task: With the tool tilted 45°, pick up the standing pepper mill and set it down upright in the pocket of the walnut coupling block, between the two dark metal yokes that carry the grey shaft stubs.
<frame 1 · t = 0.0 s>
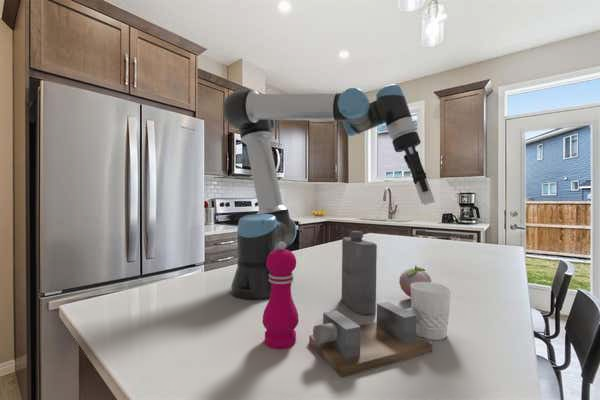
hand: (427, 203, 85), 28 cm above the countertop, tool tilted 20°, fingers open, 13 cm apart
flask: (356, 305, 79), on the countertop
decorative fruit: (414, 300, 84), on the countertop
pepper mill: (280, 341, 59), on the countertop
coupling block: (369, 347, 56), on the countertop
white cup: (429, 333, 63), on the countertop
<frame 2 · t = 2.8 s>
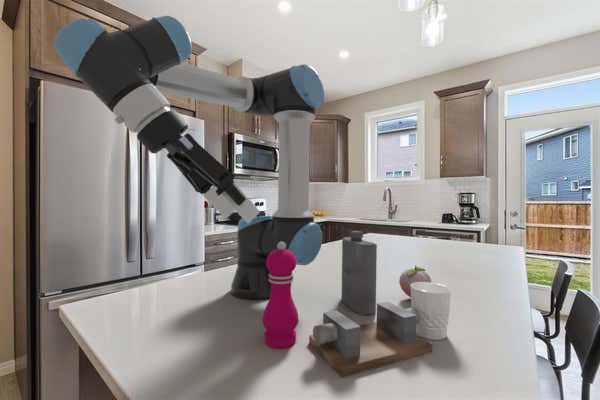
hand: (240, 215, 54), 25 cm above the countertop, tool tilted 45°, fingers open, 13 cm apart
nothing on the countertop moved.
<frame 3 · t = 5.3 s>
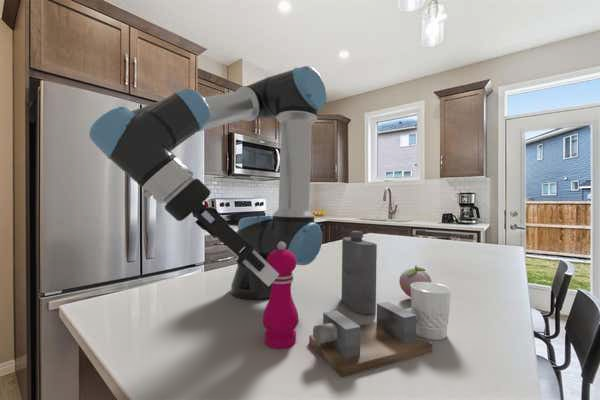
hand: (262, 270, 56), 15 cm above the countertop, tool tilted 45°, fingers open, 13 cm apart
nothing on the countertop moved.
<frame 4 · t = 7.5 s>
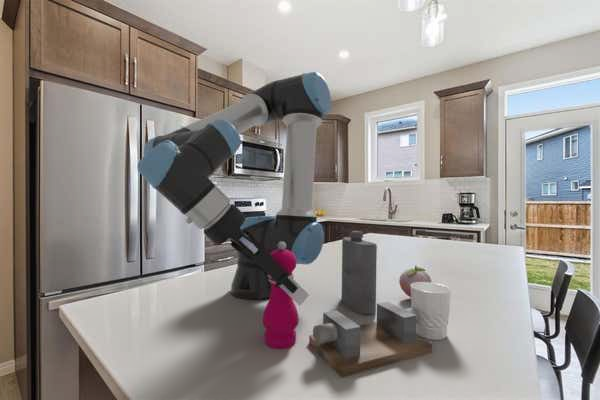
hand: (297, 294, 60), 9 cm above the countertop, tool tilted 45°, fingers closed on pepper mill, 5 cm apart
pepper mill: (280, 341, 59), on the countertop, touching gripper
everything else where it was.
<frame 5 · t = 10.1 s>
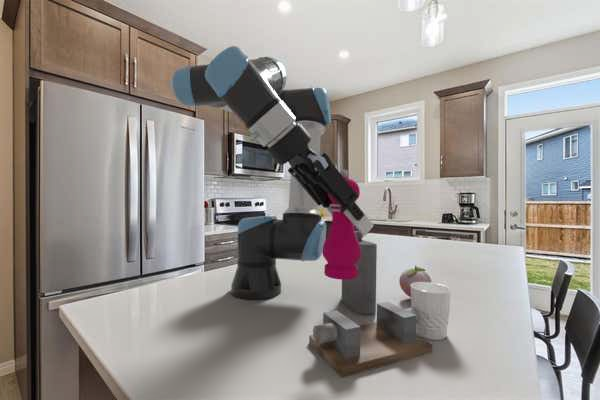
hand: (359, 228, 57), 23 cm above the countertop, tool tilted 45°, fingers closed on pepper mill, 5 cm apart
pepper mill: (340, 276, 55), point 14 cm above the countertop, touching gripper
everything else where it was.
when the fingers open (11 cm above the countertop, at t = 13.1 s): pepper mill moves 3 cm, resting on coupling block.
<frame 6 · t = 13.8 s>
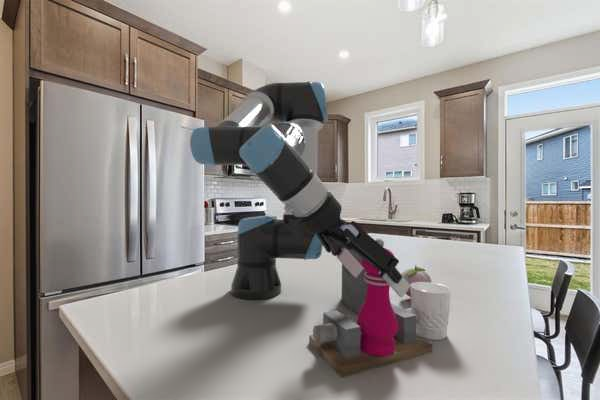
hand: (379, 280, 57), 13 cm above the countertop, tool tilted 45°, fingers open, 13 cm apart
pepper mill: (376, 348, 53), point 1 cm above the countertop, touching coupling block
everything else where it was.
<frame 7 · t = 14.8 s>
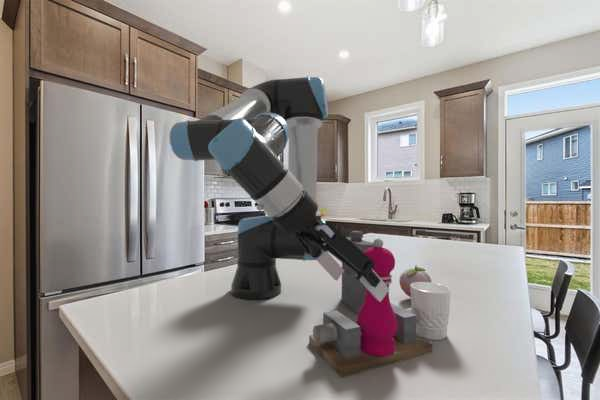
hand: (359, 284, 55), 13 cm above the countertop, tool tilted 45°, fingers open, 13 cm apart
nothing on the countertop moved.
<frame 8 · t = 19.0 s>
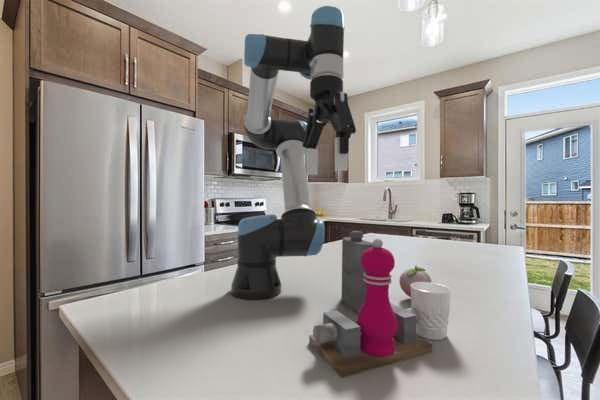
hand: (325, 172, 67), 35 cm above the countertop, tool pointing down, fingers open, 13 cm apart
nothing on the countertop moved.
at the end: pepper mill inside the target area on the coupling block (3.1 cm from its centre), point 1.3 cm above the coupling block's base; pepper mill tilted 0°; the gripper is holding nothing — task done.
